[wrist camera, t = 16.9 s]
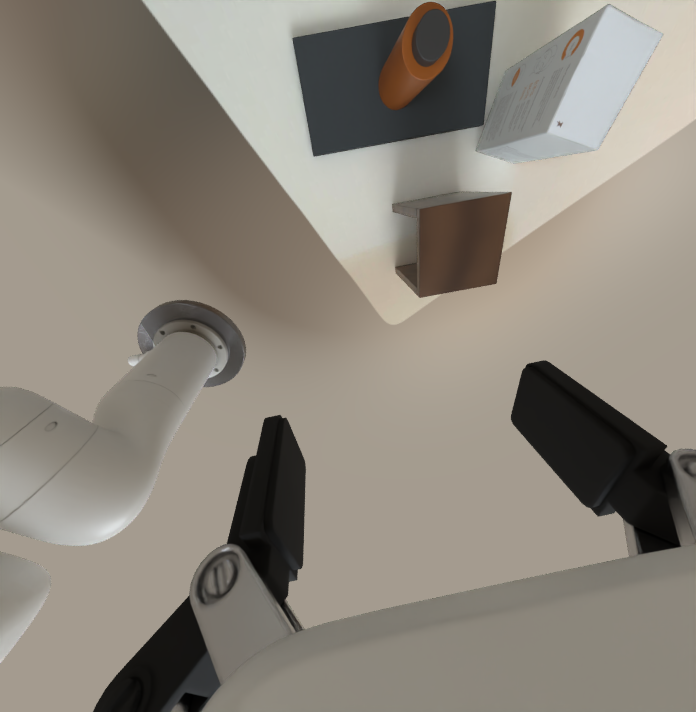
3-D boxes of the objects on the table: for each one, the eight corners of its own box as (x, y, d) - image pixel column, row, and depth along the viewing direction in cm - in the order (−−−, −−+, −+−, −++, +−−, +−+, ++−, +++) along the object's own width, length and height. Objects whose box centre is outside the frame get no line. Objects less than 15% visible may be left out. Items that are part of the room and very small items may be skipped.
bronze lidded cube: (395, 273, 43) (419, 298, 33) (392, 204, 37) (419, 208, 27) (454, 262, 43) (496, 283, 33) (459, 191, 37) (512, 191, 27)
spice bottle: (380, 113, 31) (406, 79, 22) (376, 60, 29) (405, -3, 19) (415, 106, 31) (457, 70, 22) (415, 53, 29) (462, -14, 19)
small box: (513, 164, 36) (598, 153, 25) (474, 151, 35) (545, 133, 24) (548, 85, 32) (668, 31, 21) (505, 68, 31) (608, 0, 20)
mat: (313, 156, 33) (313, 155, 33) (293, 42, 28) (292, 37, 27) (479, 126, 33) (483, 124, 33) (491, 5, 28) (496, 0, 27)
